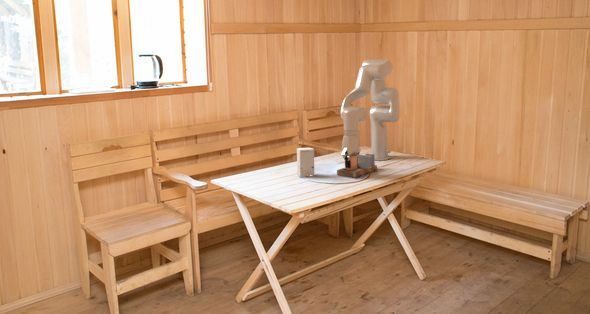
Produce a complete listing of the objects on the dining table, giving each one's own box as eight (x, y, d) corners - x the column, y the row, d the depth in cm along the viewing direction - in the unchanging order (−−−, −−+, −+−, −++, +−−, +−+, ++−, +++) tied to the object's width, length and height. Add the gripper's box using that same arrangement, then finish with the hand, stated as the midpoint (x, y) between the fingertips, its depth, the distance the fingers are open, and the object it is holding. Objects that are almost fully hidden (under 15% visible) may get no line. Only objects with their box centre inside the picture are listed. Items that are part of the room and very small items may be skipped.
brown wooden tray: (358, 168, 313) (358, 162, 313) (376, 170, 305) (376, 165, 305) (337, 175, 299) (336, 170, 298) (355, 178, 291) (355, 173, 290)
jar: (350, 167, 302) (350, 151, 300) (360, 169, 298) (359, 152, 296) (343, 169, 297) (342, 153, 296) (352, 171, 293) (352, 154, 291)
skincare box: (300, 177, 297) (299, 150, 294) (296, 175, 303) (295, 148, 300) (315, 176, 300) (314, 148, 296) (311, 173, 305) (310, 146, 302)
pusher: (364, 165, 314) (364, 153, 312) (377, 167, 308) (377, 154, 307) (358, 167, 310) (358, 154, 308) (371, 169, 304) (370, 156, 303)
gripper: (354, 129, 302) (355, 162, 306) (335, 134, 290) (336, 168, 294) (366, 131, 297) (366, 164, 301) (347, 136, 285) (347, 170, 289)
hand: (351, 166), depth 297 cm, fingers closed on jar, 6 cm apart
